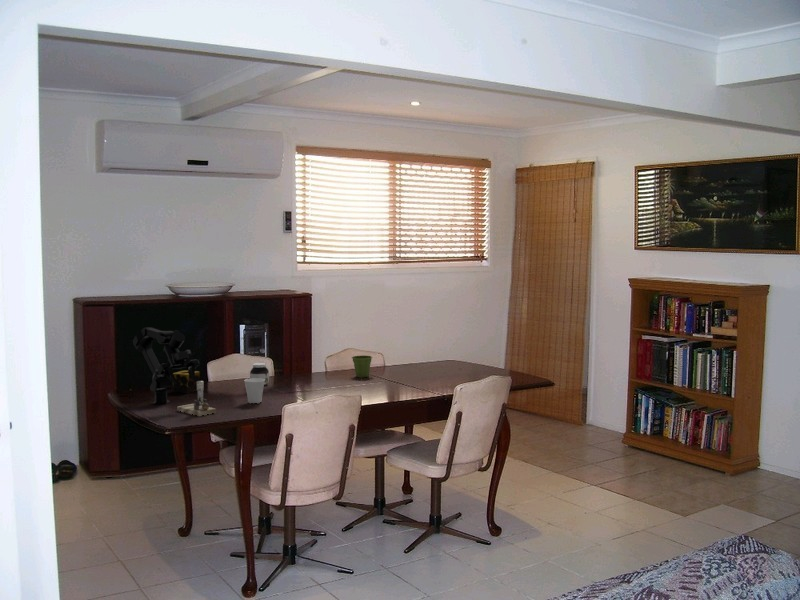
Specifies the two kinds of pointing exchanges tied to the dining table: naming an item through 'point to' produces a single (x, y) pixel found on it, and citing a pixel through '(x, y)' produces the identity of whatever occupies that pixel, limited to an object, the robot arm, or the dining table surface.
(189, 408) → the nutcracker board
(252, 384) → the cup
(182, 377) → the yellow black cube
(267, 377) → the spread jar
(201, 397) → the lever
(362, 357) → the plant pot
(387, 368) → the dining table surface
